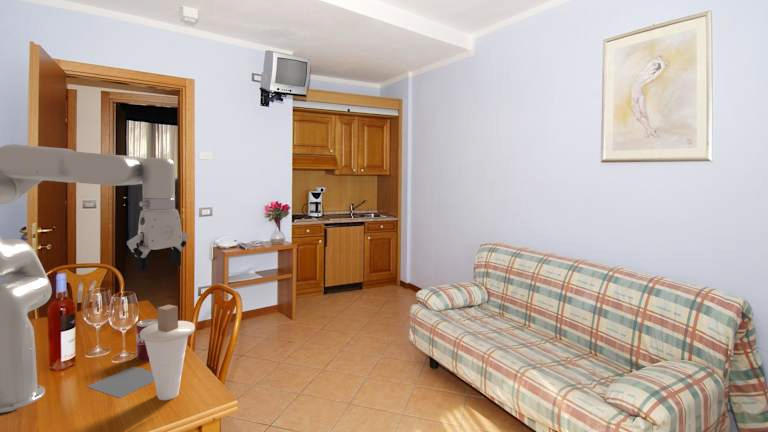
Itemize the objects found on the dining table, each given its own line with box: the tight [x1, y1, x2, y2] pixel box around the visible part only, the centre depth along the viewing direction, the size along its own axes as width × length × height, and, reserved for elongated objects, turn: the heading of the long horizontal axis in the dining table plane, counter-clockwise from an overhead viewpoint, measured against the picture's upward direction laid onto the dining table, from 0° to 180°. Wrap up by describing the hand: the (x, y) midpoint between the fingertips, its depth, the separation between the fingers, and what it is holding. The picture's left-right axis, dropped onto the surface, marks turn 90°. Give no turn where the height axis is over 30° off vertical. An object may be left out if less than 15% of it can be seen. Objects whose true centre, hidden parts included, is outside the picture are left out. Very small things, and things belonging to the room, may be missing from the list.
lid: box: [140, 304, 196, 342], centre depth 112 cm, size 13×13×7 cm
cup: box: [145, 336, 189, 401], centre depth 113 cm, size 11×11×18 cm
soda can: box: [135, 318, 158, 362], centre depth 137 cm, size 7×7×12 cm
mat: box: [86, 366, 155, 399], centre depth 121 cm, size 14×14×1 cm
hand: (160, 268), depth 113 cm, fingers open, 9 cm apart
